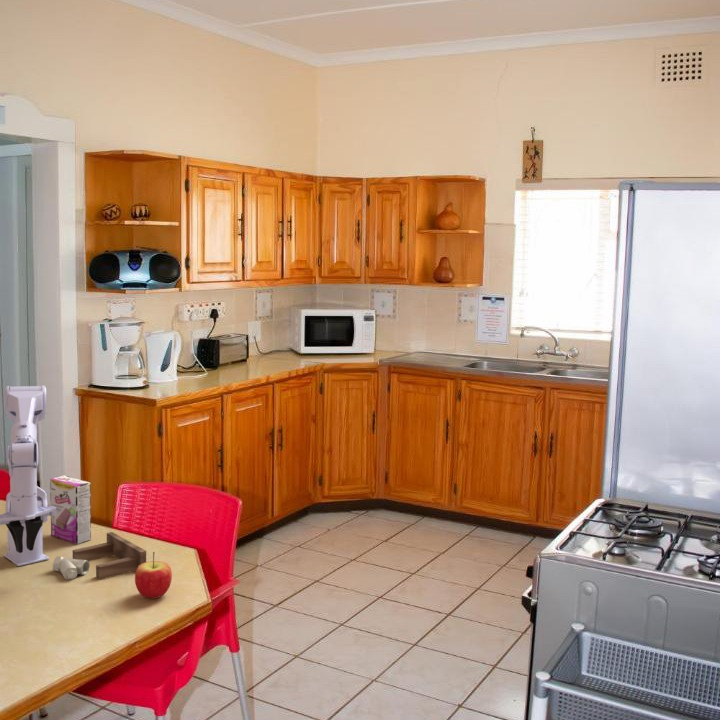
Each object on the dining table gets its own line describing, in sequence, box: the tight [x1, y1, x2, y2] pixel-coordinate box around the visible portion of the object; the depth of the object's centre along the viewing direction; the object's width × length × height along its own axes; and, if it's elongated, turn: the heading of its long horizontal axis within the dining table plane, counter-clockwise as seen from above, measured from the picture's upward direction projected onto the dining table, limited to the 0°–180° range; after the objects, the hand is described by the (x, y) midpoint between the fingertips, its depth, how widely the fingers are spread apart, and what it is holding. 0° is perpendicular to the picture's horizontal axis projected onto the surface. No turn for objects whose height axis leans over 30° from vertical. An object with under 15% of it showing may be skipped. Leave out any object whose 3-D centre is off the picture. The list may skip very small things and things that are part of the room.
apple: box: [134, 551, 173, 599], centre depth 195 cm, size 8×8×10 cm
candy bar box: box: [49, 474, 92, 545], centre depth 231 cm, size 11×5×16 cm, turn 58°
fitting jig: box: [71, 531, 147, 580], centre depth 214 cm, size 18×12×5 cm, turn 43°
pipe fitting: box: [52, 556, 90, 581], centre depth 207 cm, size 8×4×7 cm
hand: (24, 550), depth 199 cm, fingers closed
